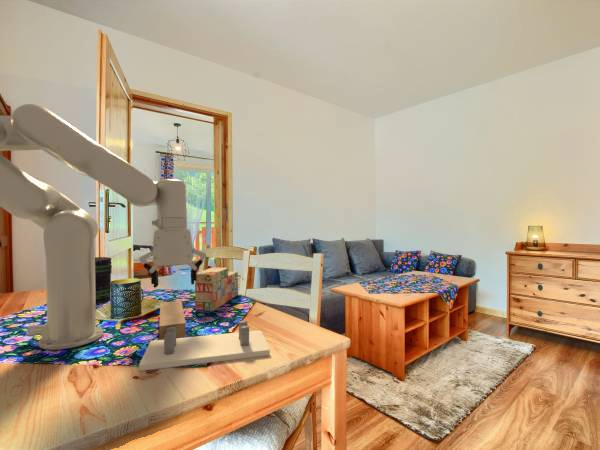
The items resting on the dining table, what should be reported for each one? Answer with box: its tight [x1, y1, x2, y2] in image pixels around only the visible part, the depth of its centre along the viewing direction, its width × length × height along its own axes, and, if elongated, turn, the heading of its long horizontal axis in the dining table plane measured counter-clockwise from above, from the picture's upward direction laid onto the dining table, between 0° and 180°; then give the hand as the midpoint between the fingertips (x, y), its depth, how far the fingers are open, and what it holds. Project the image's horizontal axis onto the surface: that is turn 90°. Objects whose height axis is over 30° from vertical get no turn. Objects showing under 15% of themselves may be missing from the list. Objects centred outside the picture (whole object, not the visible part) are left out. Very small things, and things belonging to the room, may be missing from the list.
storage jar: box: [95, 256, 113, 304], centre depth 109 cm, size 10×10×15 cm
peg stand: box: [138, 320, 271, 372], centre depth 69 cm, size 26×12×5 cm, turn 106°
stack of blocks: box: [194, 266, 239, 312], centre depth 108 cm, size 21×6×12 cm, turn 169°
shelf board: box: [158, 300, 187, 340], centre depth 85 cm, size 6×22×4 cm, turn 24°
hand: (174, 284), depth 85 cm, fingers open, 9 cm apart
